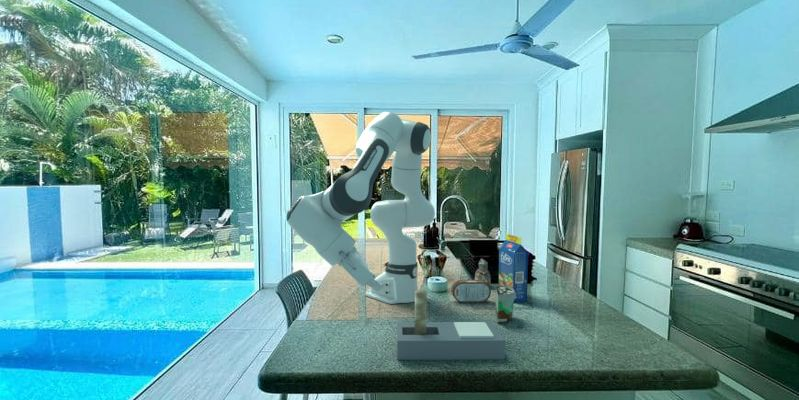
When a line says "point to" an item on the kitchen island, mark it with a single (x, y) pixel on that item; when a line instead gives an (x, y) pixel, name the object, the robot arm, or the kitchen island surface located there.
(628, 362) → the kitchen island surface
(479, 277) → the figurine
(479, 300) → the tin
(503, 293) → the food container
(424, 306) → the T-key
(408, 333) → the housing
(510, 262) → the blue food package
